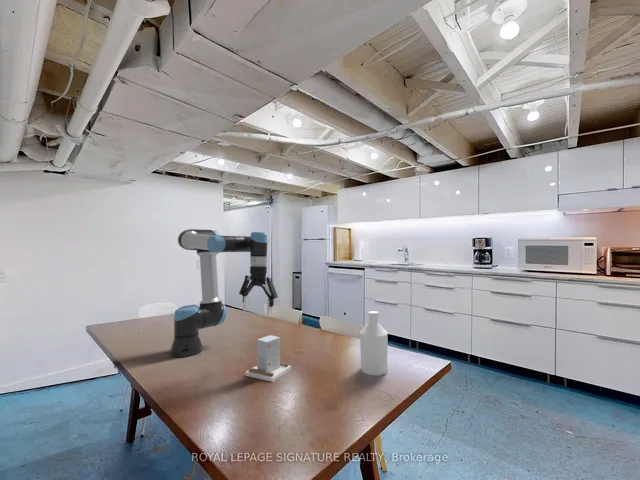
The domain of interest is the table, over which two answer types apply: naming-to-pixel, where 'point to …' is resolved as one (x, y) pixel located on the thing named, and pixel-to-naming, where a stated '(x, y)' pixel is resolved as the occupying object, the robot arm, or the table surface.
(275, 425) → the table surface
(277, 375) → the base plate
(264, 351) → the small box
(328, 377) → the table surface
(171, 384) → the table surface
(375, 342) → the bottle
